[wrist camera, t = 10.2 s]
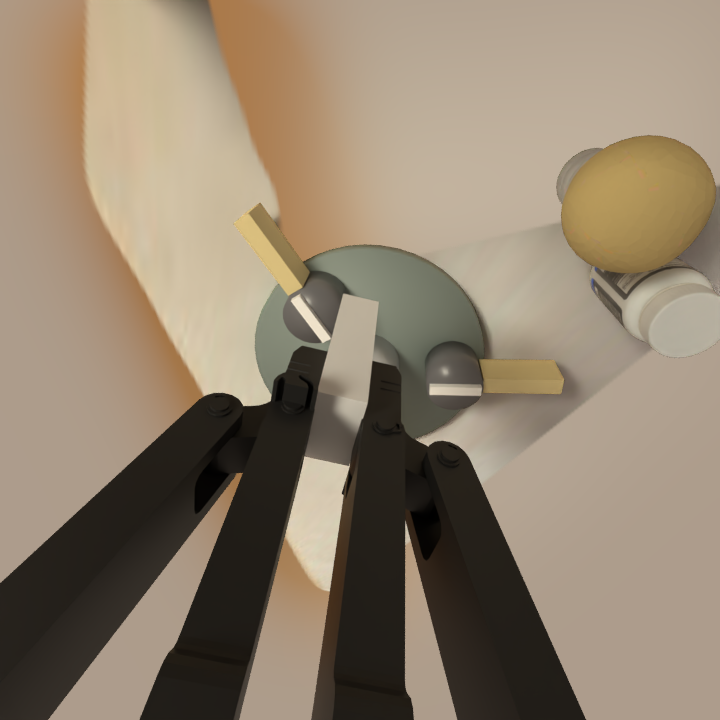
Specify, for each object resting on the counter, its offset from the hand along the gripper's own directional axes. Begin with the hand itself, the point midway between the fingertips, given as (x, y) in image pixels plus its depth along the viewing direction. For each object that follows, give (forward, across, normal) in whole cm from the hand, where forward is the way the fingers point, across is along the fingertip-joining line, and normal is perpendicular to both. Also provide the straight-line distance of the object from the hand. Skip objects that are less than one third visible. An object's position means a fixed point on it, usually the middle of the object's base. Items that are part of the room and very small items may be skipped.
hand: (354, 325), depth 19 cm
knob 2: (+13, +11, -8) cm, 18 cm away
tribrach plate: (+14, +2, -10) cm, 17 cm away
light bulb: (+14, +12, +6) cm, 20 cm away
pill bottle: (+14, +18, +1) cm, 23 cm away
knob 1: (+13, -5, -4) cm, 14 cm away
